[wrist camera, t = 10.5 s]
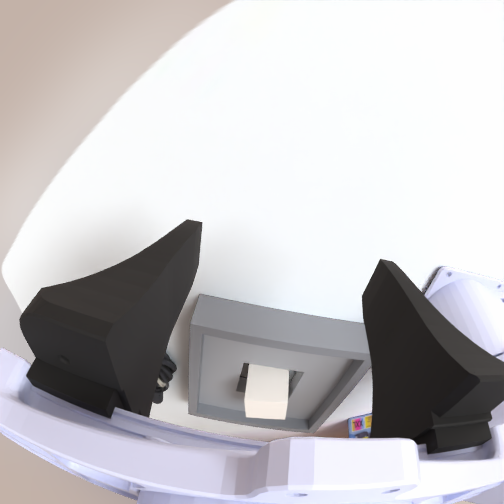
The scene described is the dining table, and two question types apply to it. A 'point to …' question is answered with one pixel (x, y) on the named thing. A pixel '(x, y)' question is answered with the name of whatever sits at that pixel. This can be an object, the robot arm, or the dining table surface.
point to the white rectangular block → (266, 392)
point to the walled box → (272, 361)
